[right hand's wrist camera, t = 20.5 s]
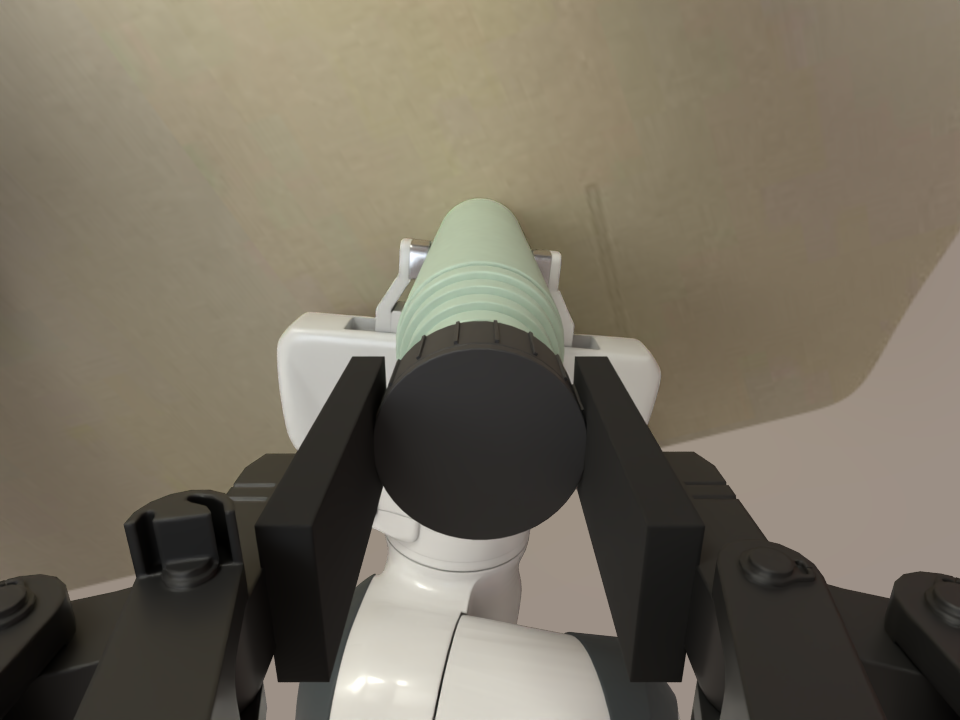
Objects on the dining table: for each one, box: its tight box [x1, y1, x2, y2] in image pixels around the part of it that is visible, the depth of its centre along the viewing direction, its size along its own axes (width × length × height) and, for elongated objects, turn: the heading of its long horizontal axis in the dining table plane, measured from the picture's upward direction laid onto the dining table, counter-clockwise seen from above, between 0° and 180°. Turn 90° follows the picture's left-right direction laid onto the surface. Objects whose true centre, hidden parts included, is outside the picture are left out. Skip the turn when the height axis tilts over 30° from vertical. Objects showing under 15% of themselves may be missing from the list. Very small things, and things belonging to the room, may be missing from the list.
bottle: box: [396, 198, 564, 364], centre depth 25 cm, size 5×5×26 cm
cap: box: [373, 320, 587, 540], centre depth 14 cm, size 5×5×2 cm
